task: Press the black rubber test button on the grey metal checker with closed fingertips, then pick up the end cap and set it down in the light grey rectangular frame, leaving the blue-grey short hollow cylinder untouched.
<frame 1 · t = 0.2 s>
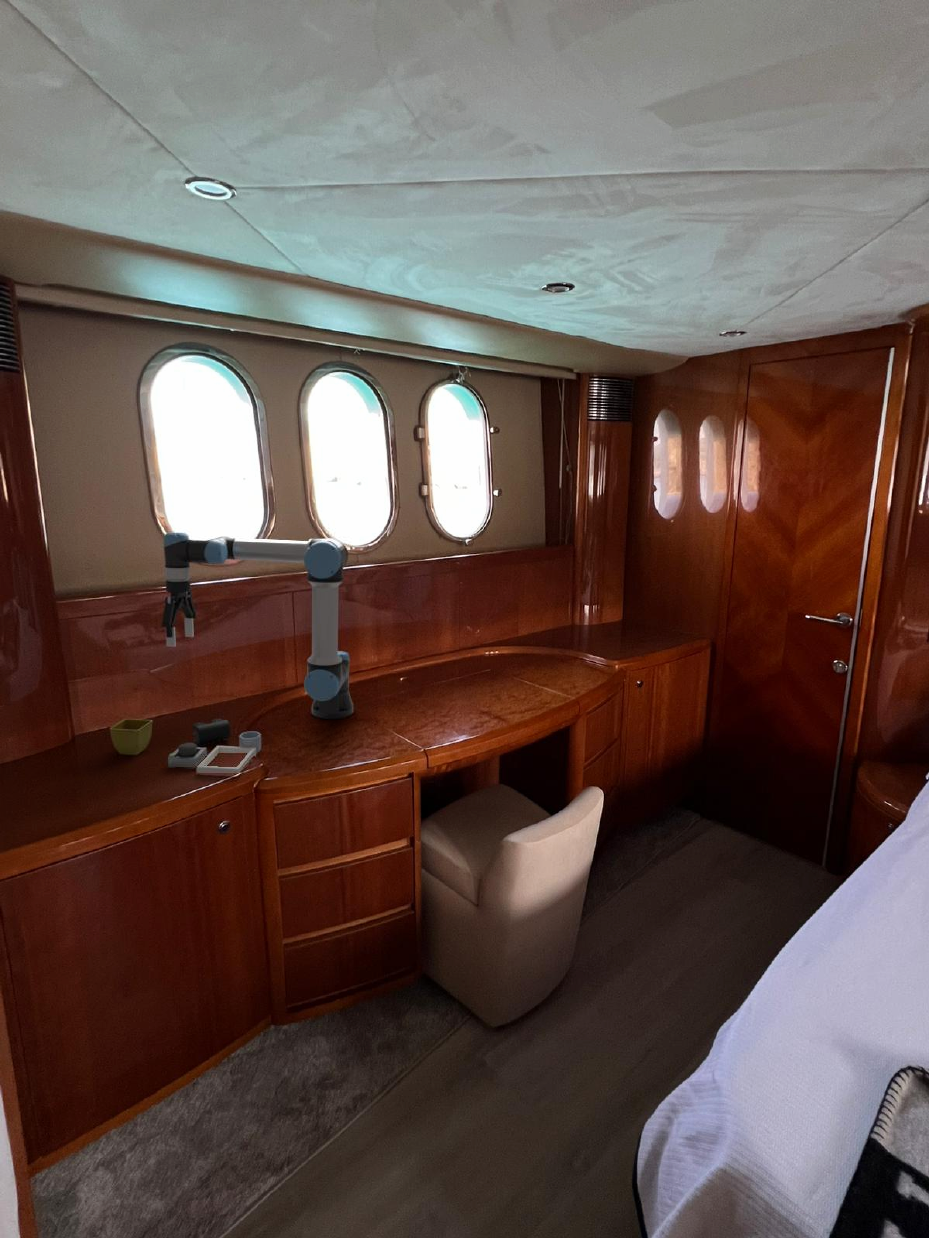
hand: (180, 641, 215), 28 cm above the table, fingers open, 13 cm apart
test button: (187, 750, 188), point 4 cm above the table, slide at 0.0 cm
blue-grey short hollow cylinder: (250, 750, 199), on the table
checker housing: (188, 761, 188), on the table
light grey rectangular frame: (227, 764, 188), on the table
flower pot: (133, 752, 193), on the table
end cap: (211, 742, 203), on the table
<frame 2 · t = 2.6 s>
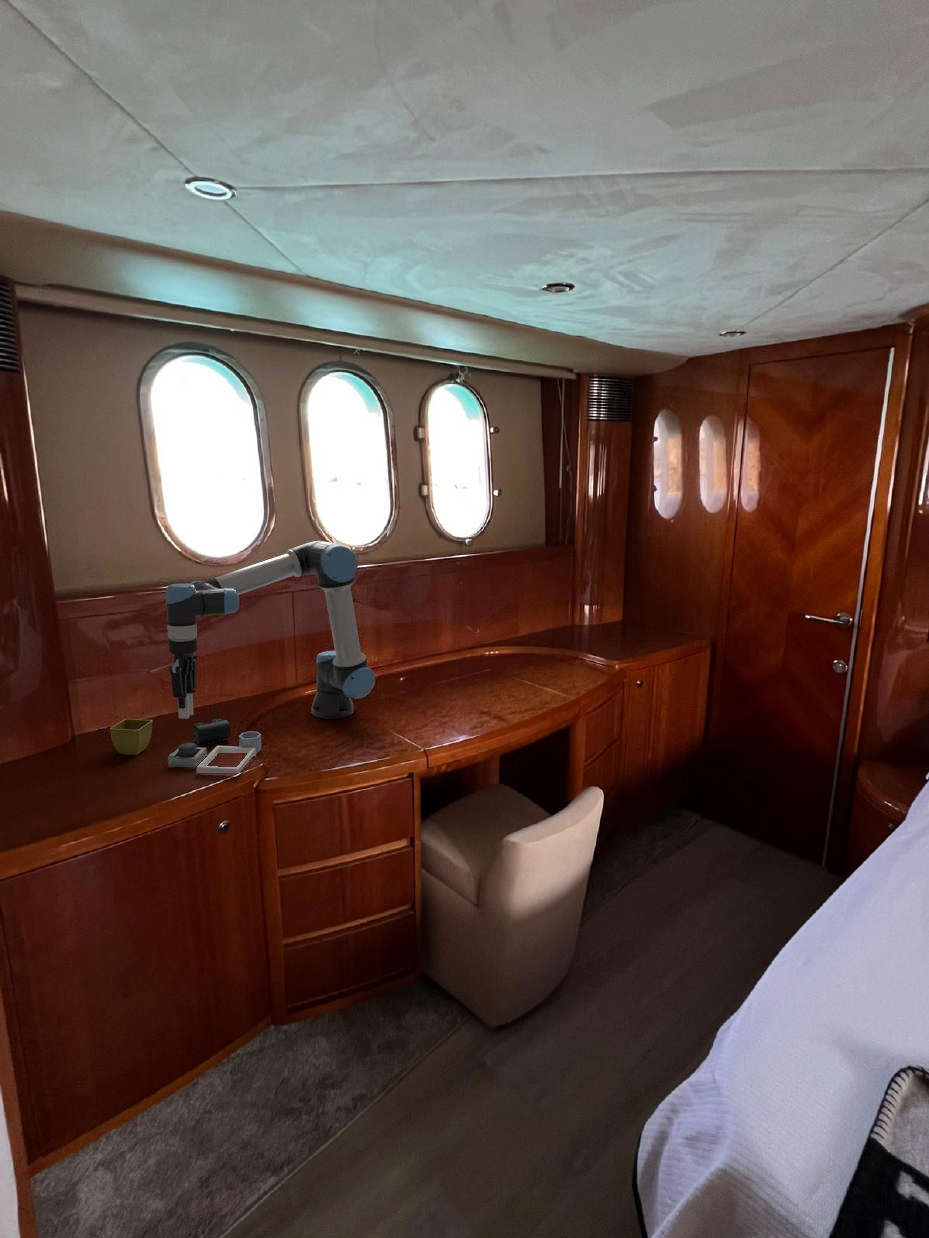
hand: (186, 715, 185), 14 cm above the table, fingers open, 2 cm apart
nothing on the table moved.
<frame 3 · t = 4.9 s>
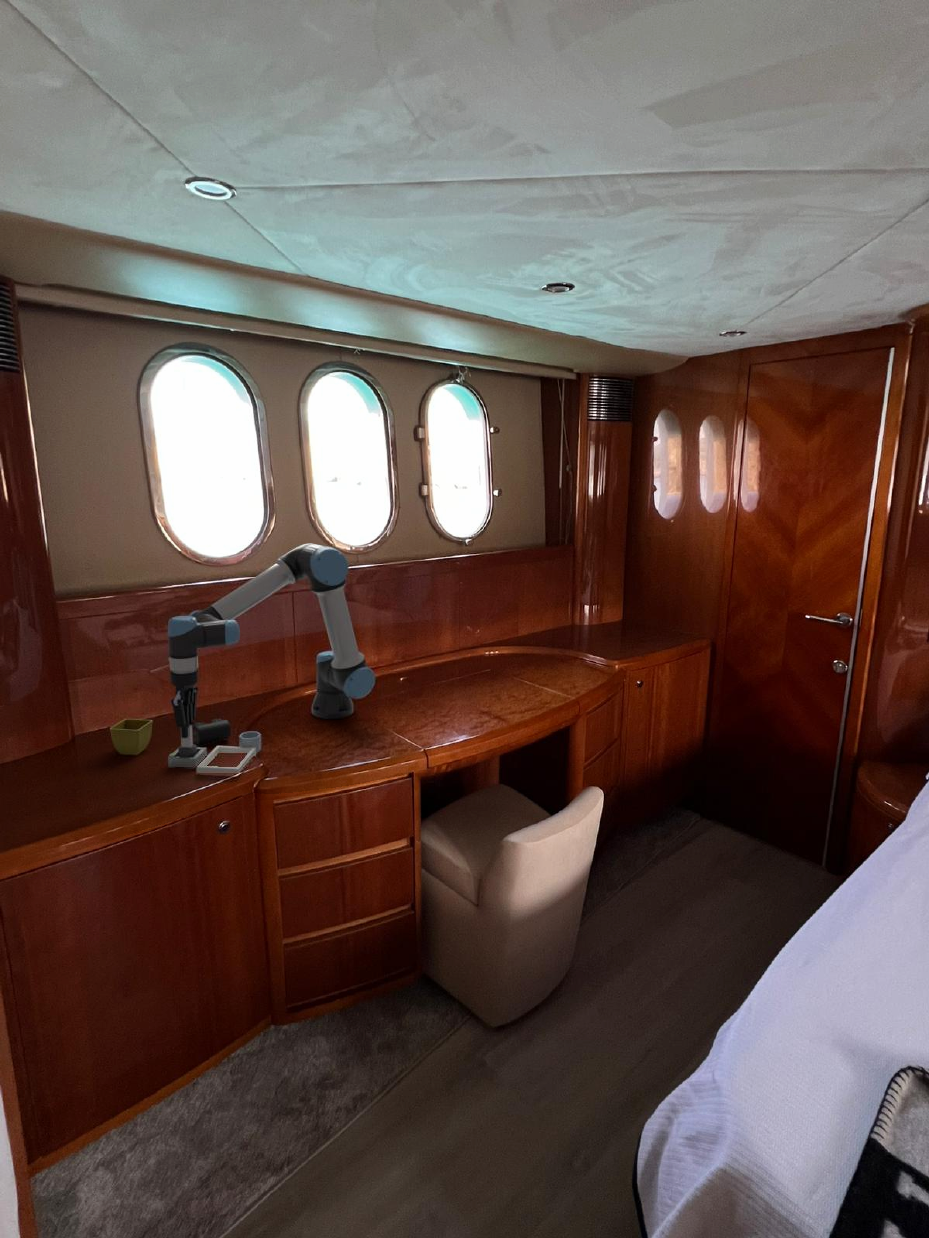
hand: (187, 746, 187), 5 cm above the table, fingers closed
test button: (187, 751, 188), point 3 cm above the table, slide at 0.3 cm, touching gripper
everything else where it was.
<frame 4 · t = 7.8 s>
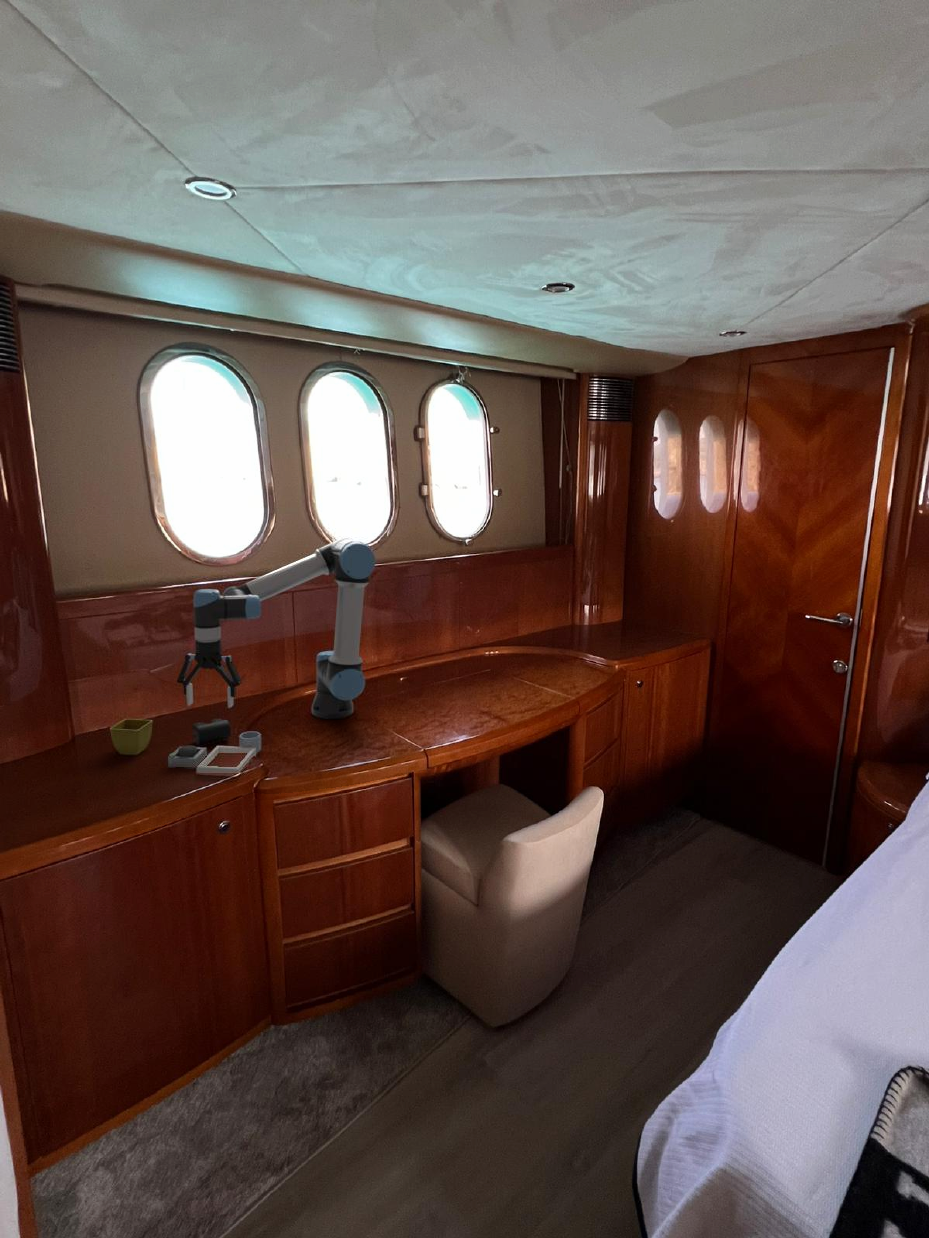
hand: (210, 705, 201), 12 cm above the table, fingers open, 12 cm apart
test button: (187, 753, 188), point 3 cm above the table, slide at 0.8 cm
everything else where it was.
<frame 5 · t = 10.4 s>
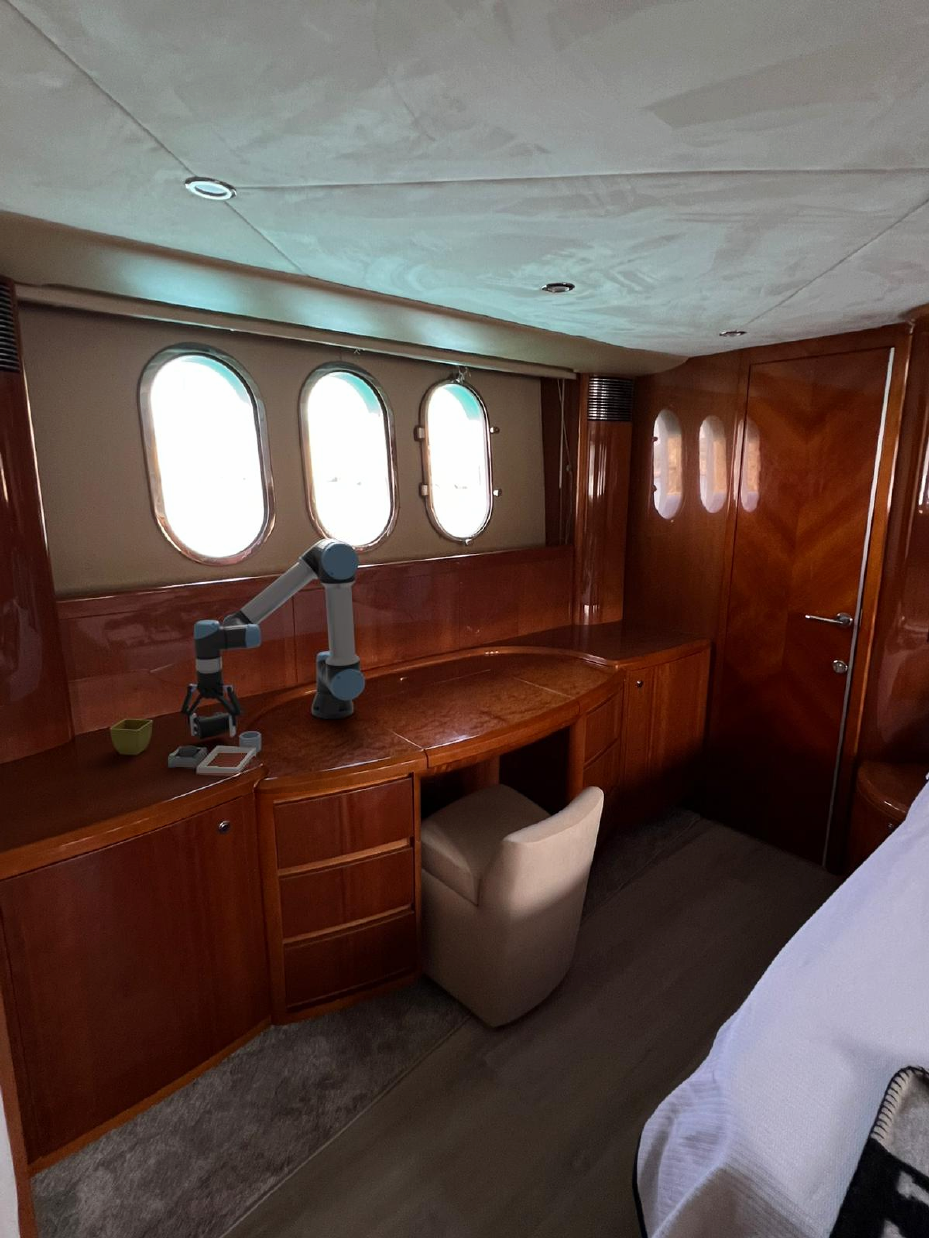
hand: (213, 734, 203), 2 cm above the table, fingers closed on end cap, 12 cm apart
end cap: (213, 736, 203), point 2 cm above the table, touching gripper
everything else where it was.
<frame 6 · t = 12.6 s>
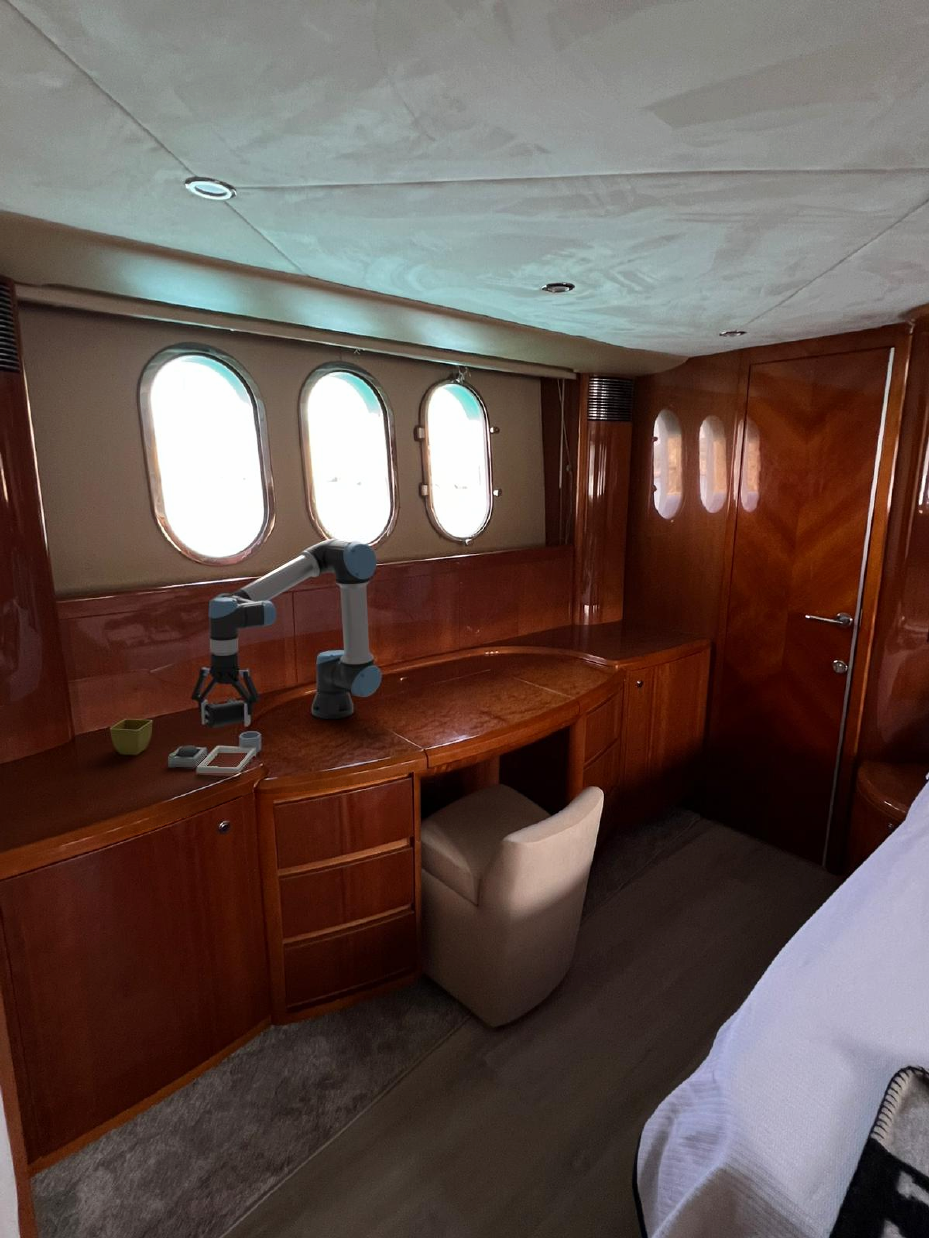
hand: (226, 723, 185), 13 cm above the table, fingers closed on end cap, 12 cm apart
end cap: (226, 725, 185), point 12 cm above the table, touching gripper
everything else where it was.
when the fingers open (3 cm above the table, at t = 14.8 s): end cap stays where it is, resting on light grey rectangular frame.
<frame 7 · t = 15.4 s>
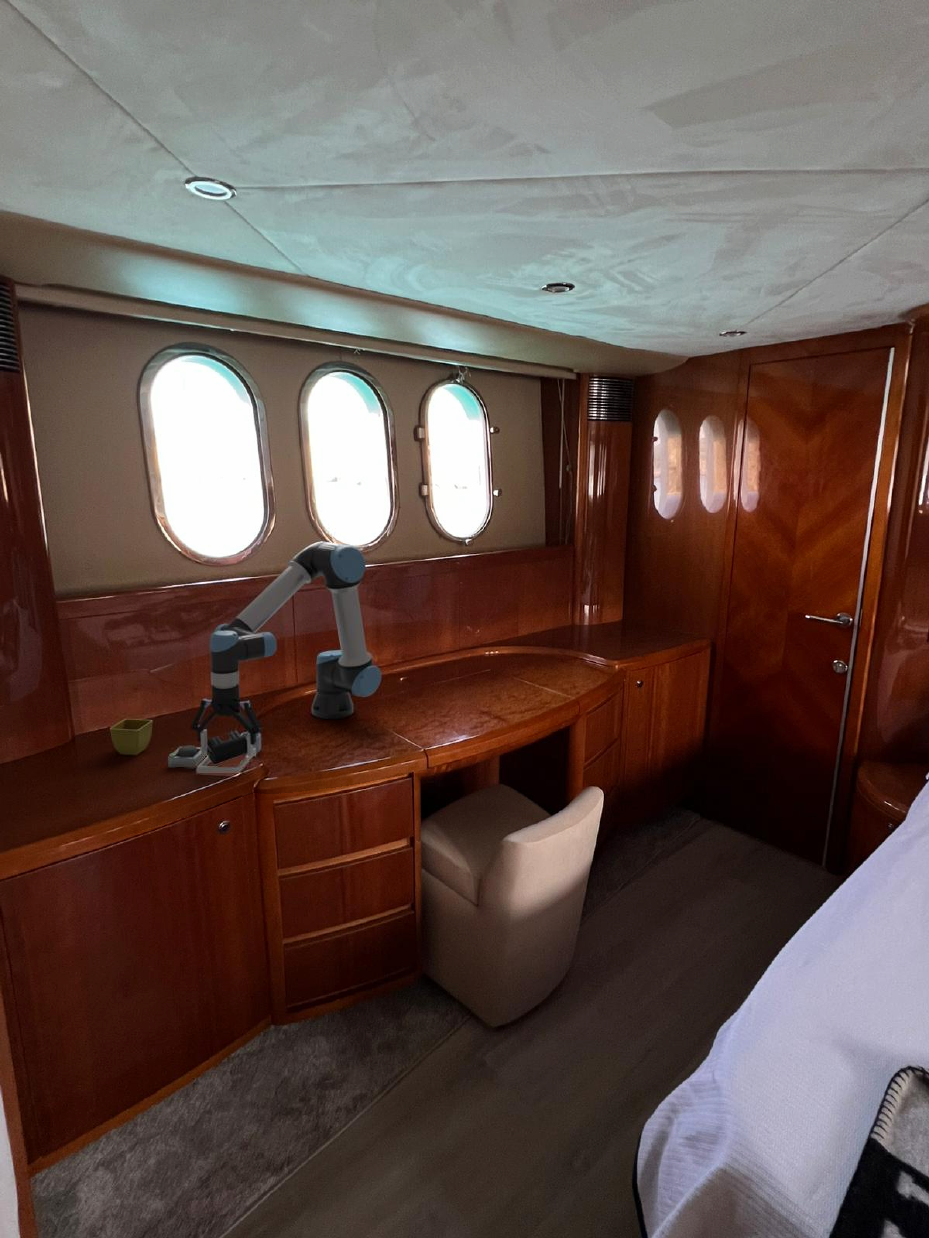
hand: (227, 753, 187), 4 cm above the table, fingers open, 13 cm apart
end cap: (227, 758, 188), point 2 cm above the table, touching light grey rectangular frame
everything else where it was.
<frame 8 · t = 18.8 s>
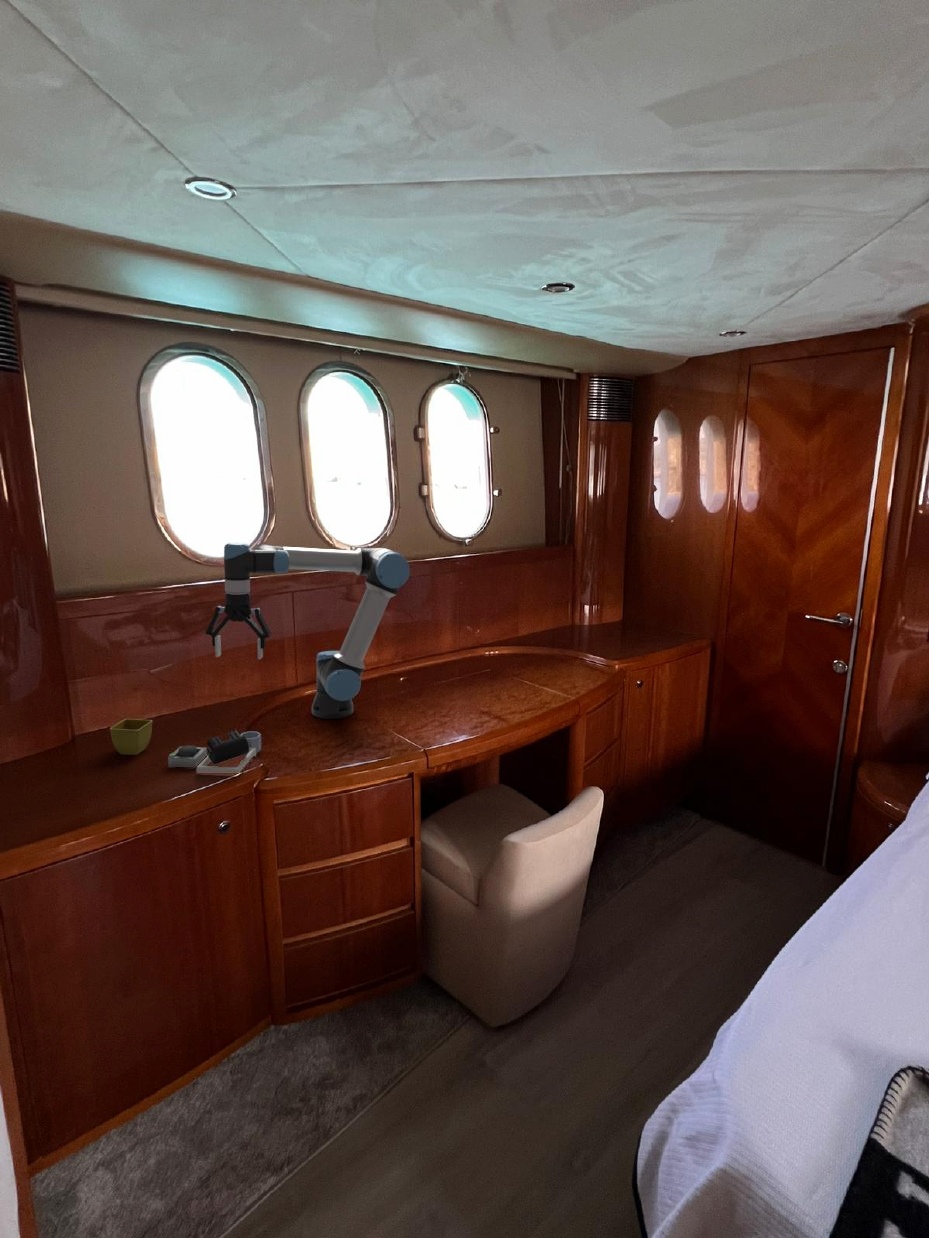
hand: (239, 657, 204), 27 cm above the table, fingers open, 13 cm apart
nothing on the table moved.
at the end: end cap inside the target area on the light grey rectangular frame (0.2 cm from its centre), point 2.0 cm above the light grey rectangular frame's base; the gripper is holding nothing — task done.
